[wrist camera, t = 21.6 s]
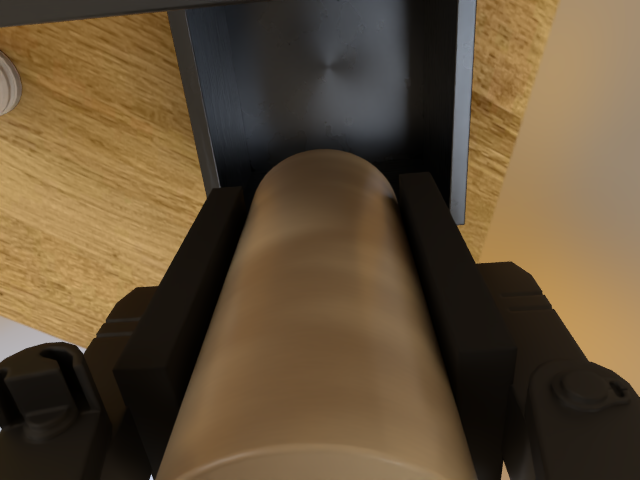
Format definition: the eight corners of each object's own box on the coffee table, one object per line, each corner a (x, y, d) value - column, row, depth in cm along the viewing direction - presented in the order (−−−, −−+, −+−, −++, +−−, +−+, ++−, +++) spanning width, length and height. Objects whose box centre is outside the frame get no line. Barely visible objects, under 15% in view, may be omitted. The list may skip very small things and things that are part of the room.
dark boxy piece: (433, 164, 32) (464, 225, 25) (243, 179, 33) (216, 242, 25) (438, -82, 26) (483, -105, 18) (202, -57, 27) (149, -68, 19)
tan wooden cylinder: (397, 141, 12) (515, 438, 4) (399, 276, 14) (485, 653, 6) (240, 154, 13) (86, 457, 5) (262, 285, 14) (179, 659, 7)
